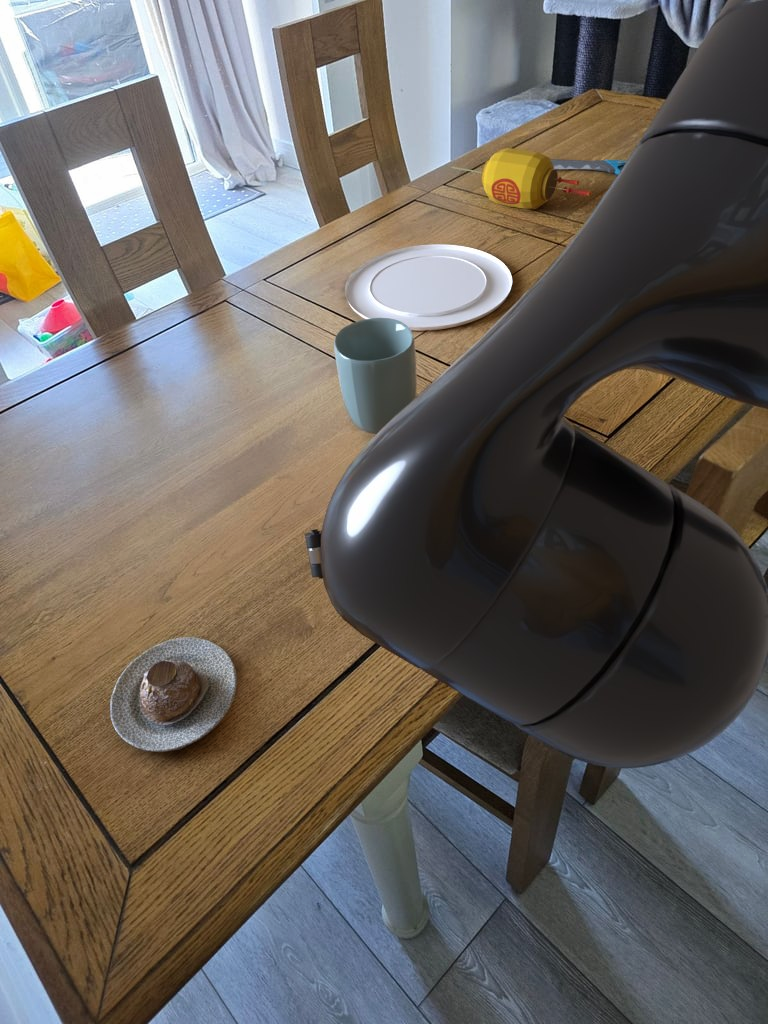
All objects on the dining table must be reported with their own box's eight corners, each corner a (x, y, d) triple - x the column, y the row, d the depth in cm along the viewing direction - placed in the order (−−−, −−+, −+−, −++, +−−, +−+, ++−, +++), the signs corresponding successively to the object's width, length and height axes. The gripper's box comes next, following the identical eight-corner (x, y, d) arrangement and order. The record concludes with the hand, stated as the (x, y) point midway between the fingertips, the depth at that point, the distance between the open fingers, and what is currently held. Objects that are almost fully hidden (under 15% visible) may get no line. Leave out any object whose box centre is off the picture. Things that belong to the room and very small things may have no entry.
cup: (353, 451, 89) (341, 369, 80) (339, 407, 96) (326, 326, 87) (427, 436, 90) (423, 352, 81) (409, 392, 97) (403, 311, 88)
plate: (401, 237, 131) (400, 233, 130) (539, 265, 119) (539, 261, 118) (312, 307, 115) (311, 303, 115) (461, 348, 103) (461, 344, 103)
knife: (499, 168, 153) (499, 160, 151) (507, 158, 155) (507, 151, 154) (675, 182, 138) (677, 174, 137) (681, 171, 140) (683, 163, 139)
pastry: (91, 699, 67) (72, 674, 64) (194, 623, 73) (181, 596, 69) (156, 783, 61) (138, 760, 58) (264, 692, 66) (253, 667, 63)
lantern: (604, 149, 124) (460, 129, 138) (580, 182, 121) (435, 158, 134) (602, 200, 133) (466, 176, 146) (579, 231, 129) (442, 204, 143)
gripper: (571, 440, 34) (497, 462, 50) (282, 489, 33) (302, 495, 49) (596, 591, 34) (514, 564, 50) (309, 643, 33) (320, 599, 49)
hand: (409, 530), depth 50 cm, fingers open, 8 cm apart
